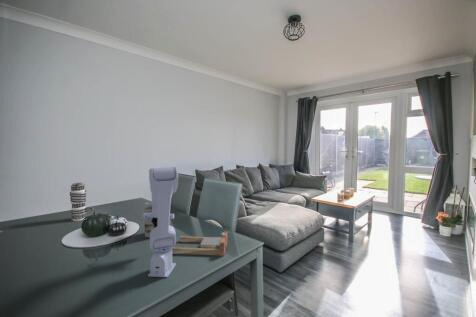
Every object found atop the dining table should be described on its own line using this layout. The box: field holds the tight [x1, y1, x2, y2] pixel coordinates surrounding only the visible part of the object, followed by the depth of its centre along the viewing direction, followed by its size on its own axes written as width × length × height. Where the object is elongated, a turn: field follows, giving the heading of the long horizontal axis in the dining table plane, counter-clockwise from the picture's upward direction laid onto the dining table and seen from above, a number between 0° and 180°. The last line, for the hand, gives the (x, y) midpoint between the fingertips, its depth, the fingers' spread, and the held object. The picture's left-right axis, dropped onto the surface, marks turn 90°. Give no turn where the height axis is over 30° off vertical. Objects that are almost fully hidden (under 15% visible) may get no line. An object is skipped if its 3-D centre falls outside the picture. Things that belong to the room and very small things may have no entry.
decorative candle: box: [69, 182, 87, 222], centre depth 151 cm, size 9×9×25 cm
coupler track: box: [172, 230, 229, 257], centre depth 109 cm, size 14×25×6 cm, turn 86°
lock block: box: [199, 236, 222, 249], centre depth 109 cm, size 8×10×4 cm
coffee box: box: [144, 205, 155, 238], centre depth 125 cm, size 9×6×16 cm
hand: (159, 232), depth 104 cm, fingers closed
